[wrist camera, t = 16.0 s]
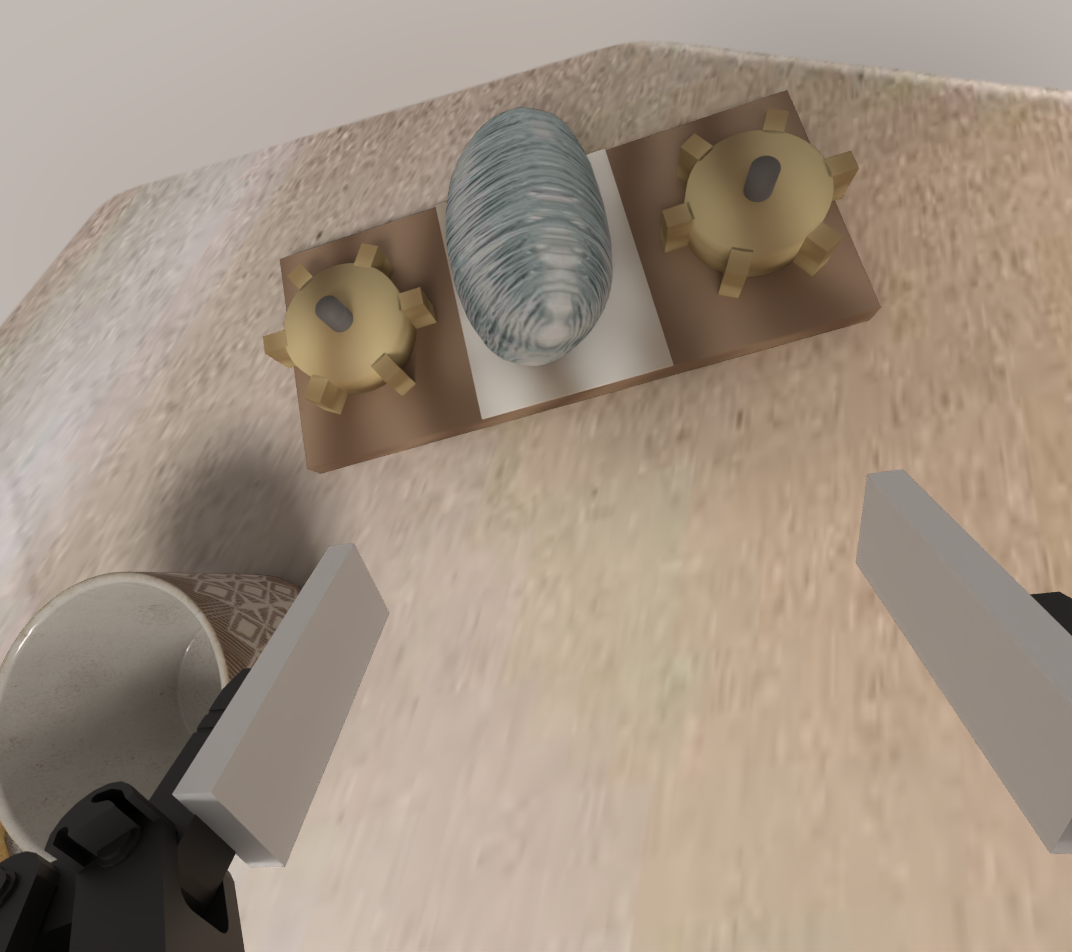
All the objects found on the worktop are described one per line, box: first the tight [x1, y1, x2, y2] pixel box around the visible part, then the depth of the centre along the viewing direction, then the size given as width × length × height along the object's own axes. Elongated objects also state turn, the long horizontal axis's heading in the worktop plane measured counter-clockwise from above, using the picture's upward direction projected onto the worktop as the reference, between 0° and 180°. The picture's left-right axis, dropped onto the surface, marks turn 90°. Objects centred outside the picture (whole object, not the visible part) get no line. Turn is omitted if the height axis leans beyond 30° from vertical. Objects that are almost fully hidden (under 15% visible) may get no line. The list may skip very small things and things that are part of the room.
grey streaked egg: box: [446, 107, 613, 366], centre depth 30 cm, size 14×10×10 cm
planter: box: [0, 572, 302, 862], centre depth 28 cm, size 13×13×10 cm
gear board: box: [263, 90, 881, 473], centre depth 32 cm, size 37×16×6 cm, turn 103°
